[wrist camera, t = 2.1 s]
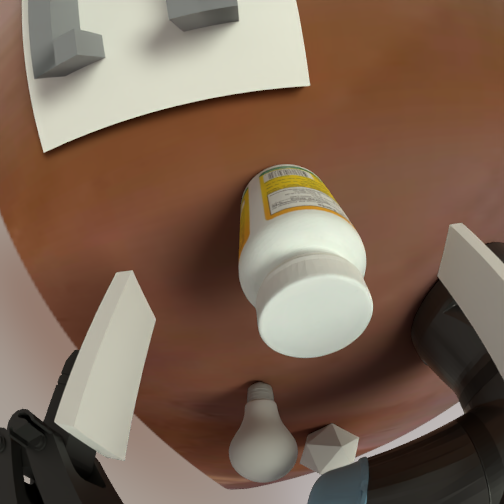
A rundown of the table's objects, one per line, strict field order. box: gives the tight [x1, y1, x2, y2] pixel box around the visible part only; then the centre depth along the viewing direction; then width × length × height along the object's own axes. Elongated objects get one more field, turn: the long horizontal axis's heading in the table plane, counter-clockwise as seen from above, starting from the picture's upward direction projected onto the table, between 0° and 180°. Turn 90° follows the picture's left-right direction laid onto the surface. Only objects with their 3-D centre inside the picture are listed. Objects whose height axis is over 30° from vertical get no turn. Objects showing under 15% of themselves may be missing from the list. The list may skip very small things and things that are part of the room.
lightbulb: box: [229, 382, 298, 482], centre depth 23 cm, size 6×6×11 cm
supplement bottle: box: [239, 164, 373, 358], centre depth 13 cm, size 5×5×10 cm
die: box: [300, 423, 359, 475], centre depth 34 cm, size 8×9×10 cm
